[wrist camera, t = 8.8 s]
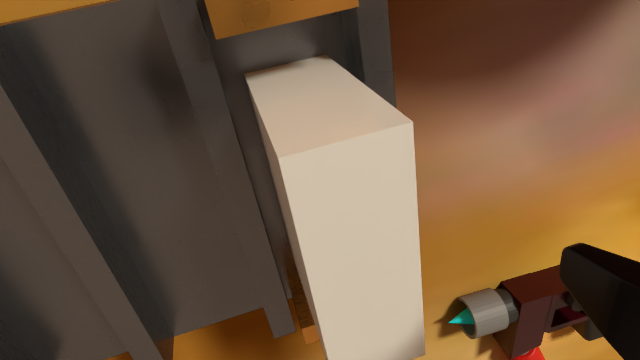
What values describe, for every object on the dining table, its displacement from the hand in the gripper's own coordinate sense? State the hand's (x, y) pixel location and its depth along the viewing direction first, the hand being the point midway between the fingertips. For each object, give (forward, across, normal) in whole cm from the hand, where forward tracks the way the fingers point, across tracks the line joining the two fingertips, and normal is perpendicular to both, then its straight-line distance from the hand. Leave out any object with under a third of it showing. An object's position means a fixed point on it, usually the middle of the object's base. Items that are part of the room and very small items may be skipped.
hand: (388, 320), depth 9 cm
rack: (+10, +6, 0) cm, 11 cm away
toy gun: (+10, -12, +17) cm, 23 cm away
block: (+9, 0, 0) cm, 9 cm away
